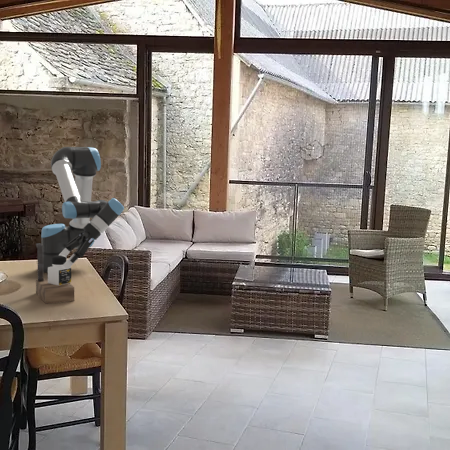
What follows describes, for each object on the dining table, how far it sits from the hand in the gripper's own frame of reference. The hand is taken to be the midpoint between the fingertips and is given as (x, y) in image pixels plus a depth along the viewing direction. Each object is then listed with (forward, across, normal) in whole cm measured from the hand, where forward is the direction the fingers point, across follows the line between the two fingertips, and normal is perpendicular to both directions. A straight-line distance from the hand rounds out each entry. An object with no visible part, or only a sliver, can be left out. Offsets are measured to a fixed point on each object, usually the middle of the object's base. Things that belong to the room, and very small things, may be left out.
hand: (61, 264), depth 266 cm
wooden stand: (+12, 0, -8) cm, 15 cm away
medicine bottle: (+7, 0, -6) cm, 9 cm away
